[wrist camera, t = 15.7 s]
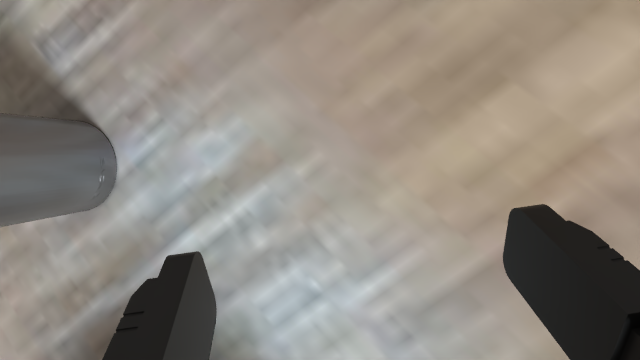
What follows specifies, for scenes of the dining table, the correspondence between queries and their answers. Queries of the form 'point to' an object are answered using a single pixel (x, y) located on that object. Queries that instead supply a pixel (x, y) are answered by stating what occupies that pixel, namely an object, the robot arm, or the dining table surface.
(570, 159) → the dining table surface
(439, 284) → the dining table surface
